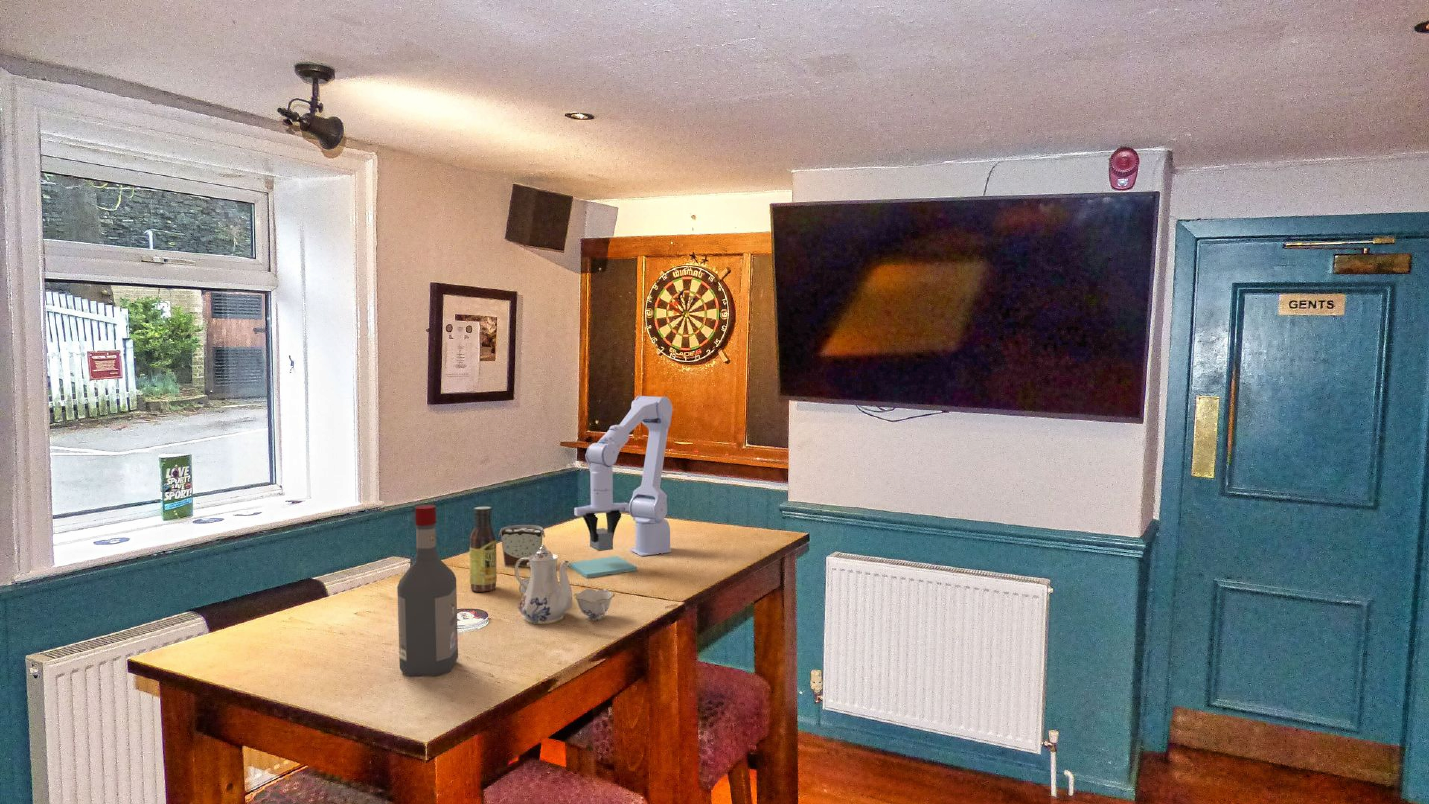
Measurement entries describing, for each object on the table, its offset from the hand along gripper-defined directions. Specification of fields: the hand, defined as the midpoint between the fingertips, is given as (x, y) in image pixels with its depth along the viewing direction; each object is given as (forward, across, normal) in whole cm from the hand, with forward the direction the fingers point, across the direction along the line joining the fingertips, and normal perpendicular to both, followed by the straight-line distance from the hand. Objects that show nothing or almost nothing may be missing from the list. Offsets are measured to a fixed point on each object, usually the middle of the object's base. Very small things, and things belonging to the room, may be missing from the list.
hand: (602, 540), depth 228 cm
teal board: (+8, 0, 0) cm, 8 cm away
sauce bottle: (+8, +32, +3) cm, 33 cm away
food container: (+8, +16, -15) cm, 23 cm away
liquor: (+8, +54, +48) cm, 73 cm away
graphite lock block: (+2, 0, -1) cm, 2 cm away
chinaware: (+8, +24, +30) cm, 39 cm away
